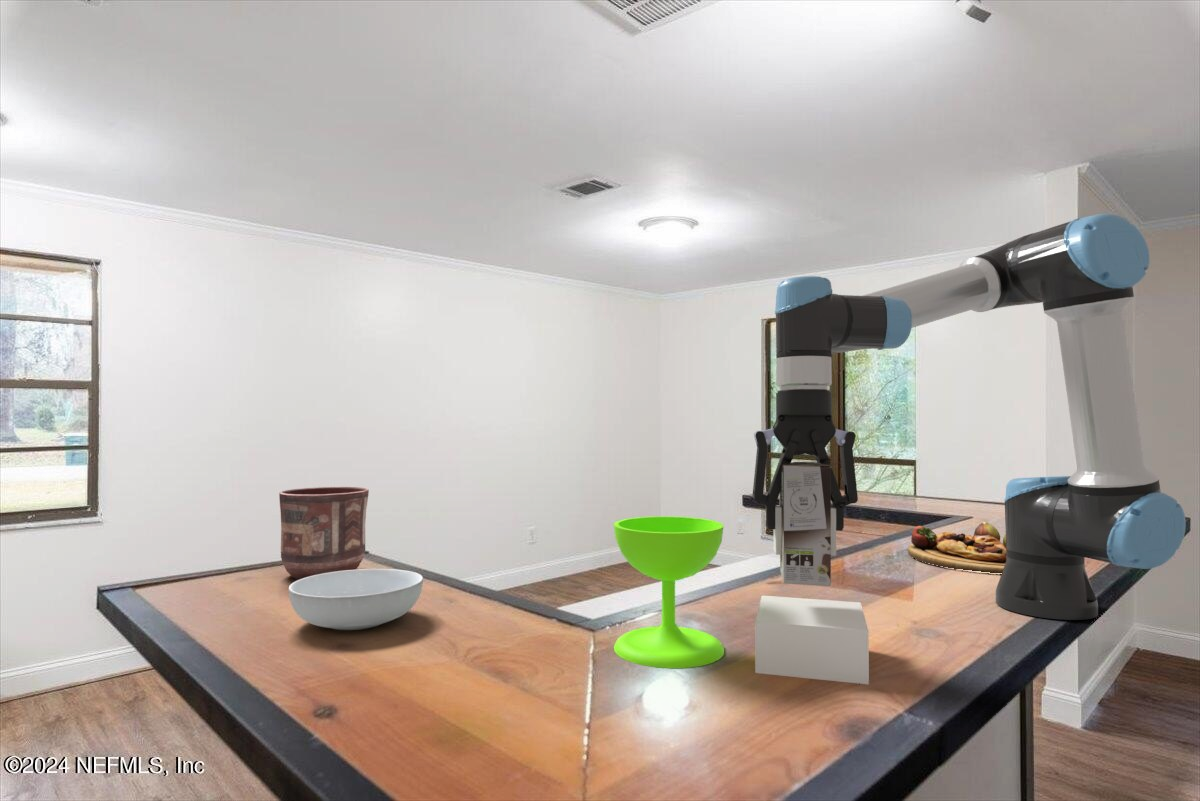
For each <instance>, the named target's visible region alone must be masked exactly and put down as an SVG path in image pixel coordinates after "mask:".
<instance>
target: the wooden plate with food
mask: <svg viewBox="0 0 1200 801" xmlns="http://www.w3.org/2000/svg"><path fill="white" fill-rule="evenodd" d="M910 541H911V543H910V544H909V545H908V547H907V553H908V555H909V556H910V557H911V558H912V557H913V558H912V559H914V558H915V559H914V560H916V559H917V560H916V561H918V560H920V561H923V562H926V563H930V564H934V565H938V566H943V567H948V568H954V569H963V570H972V571H981V572H990V573H1002V572H1003V569H1004V566H1005V563H1006V533H1005V534H1004V536H1003V537H1002V541H1001V535H1000V532H999V530H998V529H997V528H996V527H995V526H994V525H993V524H990V523H989V522H987V521H982V522H981V523H980V524H979V525H978V526H977V527H976V528H975V530H974V532H973V536H972V535H971V534H965V533H955V532H951V531H947V532H945V531H944V532H941V533H939V534H936V532H934V530H932V529H931V528H929V527H926V526H922V525H917V526H916V527H914V528H913V529H912V532H911V539H910ZM920 561H919V562H920ZM923 562H922V563H923ZM926 563H925V564H926Z"/></svg>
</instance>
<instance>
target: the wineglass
mask: <svg viewBox="0 0 1200 801" xmlns="http://www.w3.org/2000/svg"><path fill="white" fill-rule="evenodd" d="M724 527H725V526H724V524H723V523H722V522H720V521H716V520H712V519H707V518H701V517H690V516H688V517H687V516H667V515H666V516H664V515H663V516H660V515H659V516H657V515H656V516H640V517H630V518H625V519H620V520H616V521H615V522H614V523H613V530H614V537H615V540H616V543H617V545H618V548H619V550H620V552H621V554H622V556H624V558H625V560H627V562H628V563H629V565H630V566H632V567H633V568H634V569H635V570H637V571H638V572H640V573H641V574H643V575H645V576H647V577H650V578H653V579H655V580H659V581H661V624H660V625H659V626H657V625H656V626H646V627H641V628H636V629H633V630H630V631H627V632H625V633H623V634H622V635H621V636H619V637H618V638H617V639H616V641H615V643H614V645H613V650H614V653H615V654H616V655H617V656H619V658H622V659H623V660H625V661H627V662H630V663H634V664H637V665H641V666H646V667H651V668H662V669H690V668H696V667H702V666H705V665H709V664H710V665H711V664H712V663H715V662H717V661H720V659H722V658H723V656H724V655H725V648H724V645H723V644H722V643H721V641H720V640H719V639H718V638H717V637H715V636H713V635H712V634H711V633H707V632H705V631H702V630H700V629H699V630H698V629H695V628H690V627H684V626H683V627H682V626H678V625H677V623H676V581H680V580H684V579H686V578H689V577H693V576H695V575H696V574H697V573H699V572H701V571H702V570H703V569H704V568H706V567H707V566H708V565H709V564H710V563H711V562H712V561H713V559H714V558H715V556H716V555H717V553H718V551H719V548H720V546H721V544H722V540H723V533H724Z"/></svg>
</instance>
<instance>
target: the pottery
mask: <svg viewBox="0 0 1200 801" xmlns="http://www.w3.org/2000/svg"><path fill="white" fill-rule="evenodd" d="M369 491H370V490H369V488H365V487H360V486H359V487H358V486H355V487H354V486H317V487H303V488H295V489H293V488H292V489H287V490H283V491H281V492H280V491H279V497H278V498H279V508H280V510H279V511H280V559H281V562H282V564H283V567H284V569H285V570H286V573H288V574H289V575H290V576H291V577H292V578H294V580H296V581H297V580H300V579H303V578H306V577H309V576H313V575H318V574H323V573H330V572H336V571H345V570H357V569H358V568H359V567H360V565H361V563H362V561H363V559H364V557H365V552H366V518H367V516H366V515H367V506H368V499H369Z"/></svg>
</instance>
